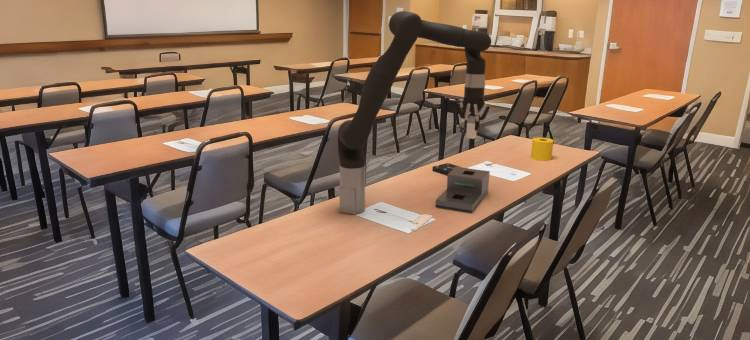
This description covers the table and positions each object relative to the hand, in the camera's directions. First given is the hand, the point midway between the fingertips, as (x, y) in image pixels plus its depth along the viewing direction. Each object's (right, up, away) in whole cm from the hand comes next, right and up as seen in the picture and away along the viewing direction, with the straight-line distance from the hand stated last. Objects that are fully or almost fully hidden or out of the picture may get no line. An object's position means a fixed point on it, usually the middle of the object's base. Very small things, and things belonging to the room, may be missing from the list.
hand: (471, 129), depth 213 cm
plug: (0, -3, +1) cm, 3 cm away
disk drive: (-3, -18, +36) cm, 40 cm away
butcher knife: (-23, -35, -21) cm, 47 cm away
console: (-3, -27, +3) cm, 27 cm away
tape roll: (+46, -10, +62) cm, 77 cm away
